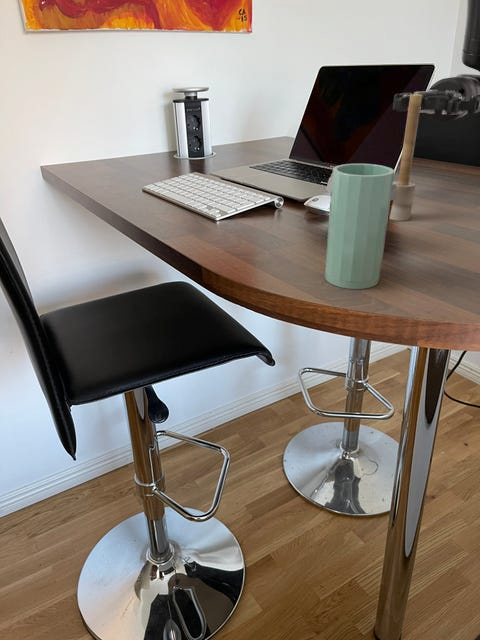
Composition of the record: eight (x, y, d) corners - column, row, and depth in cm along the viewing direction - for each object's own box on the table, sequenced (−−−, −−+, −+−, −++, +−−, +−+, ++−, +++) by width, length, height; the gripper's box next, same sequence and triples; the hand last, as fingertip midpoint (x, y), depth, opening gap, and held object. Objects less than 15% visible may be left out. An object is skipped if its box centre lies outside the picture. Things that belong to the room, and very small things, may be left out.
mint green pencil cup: (373, 268, 68) (387, 163, 62) (383, 289, 62) (399, 176, 56) (322, 267, 69) (330, 163, 62) (327, 288, 63) (336, 176, 56)
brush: (407, 214, 90) (425, 93, 81) (412, 221, 87) (432, 95, 77) (384, 214, 90) (400, 93, 81) (389, 221, 87) (406, 96, 77)
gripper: (417, 76, 96) (385, 80, 85) (497, 77, 89) (473, 82, 78) (411, 117, 100) (380, 127, 89) (487, 122, 93) (463, 133, 81)
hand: (423, 106), depth 83 cm, fingers open, 8 cm apart
